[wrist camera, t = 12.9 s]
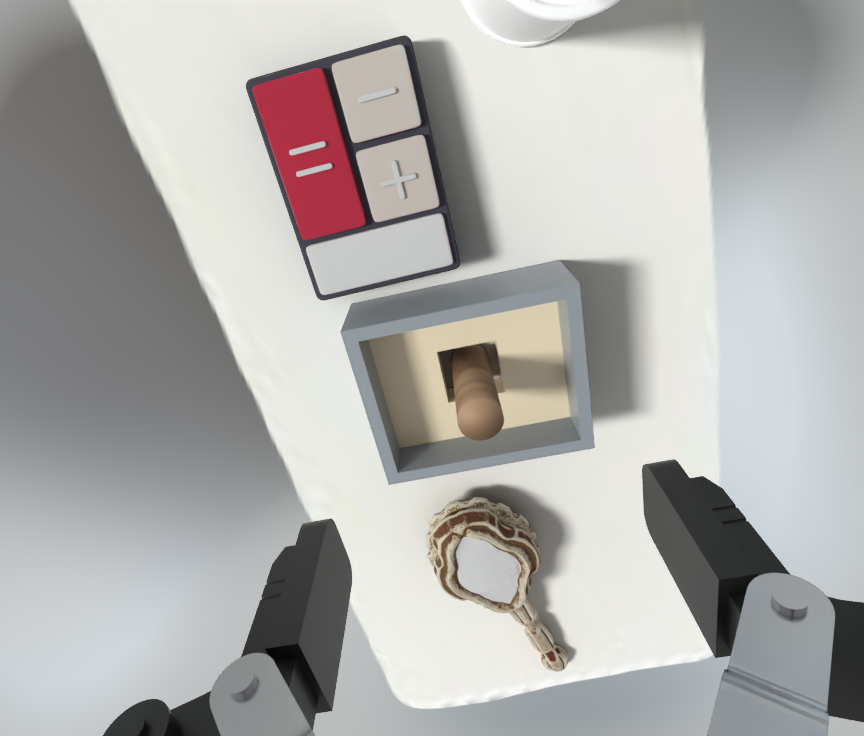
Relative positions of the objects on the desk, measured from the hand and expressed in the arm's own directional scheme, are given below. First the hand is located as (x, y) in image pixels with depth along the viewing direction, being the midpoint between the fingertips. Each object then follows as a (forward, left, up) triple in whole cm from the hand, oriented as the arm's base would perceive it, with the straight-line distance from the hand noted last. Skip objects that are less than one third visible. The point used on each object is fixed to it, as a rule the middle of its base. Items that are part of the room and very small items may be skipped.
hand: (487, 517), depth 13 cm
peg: (+10, 0, -30) cm, 32 cm away
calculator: (-6, -5, -31) cm, 32 cm away
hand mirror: (+38, 0, -30) cm, 48 cm away
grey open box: (+10, 0, -30) cm, 32 cm away
